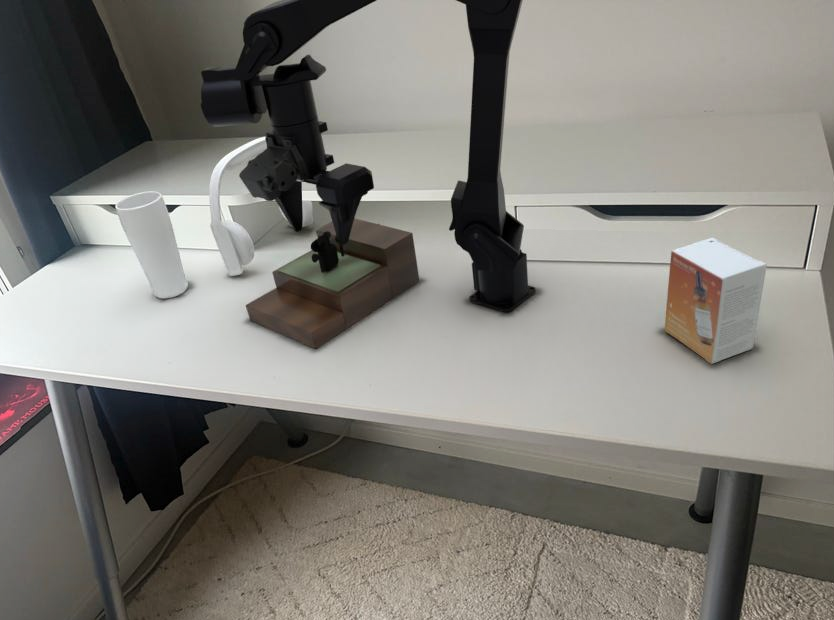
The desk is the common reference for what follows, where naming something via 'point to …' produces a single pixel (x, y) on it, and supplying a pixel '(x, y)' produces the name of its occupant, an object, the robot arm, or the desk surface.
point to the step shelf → (338, 284)
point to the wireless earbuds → (326, 252)
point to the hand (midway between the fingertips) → (320, 237)
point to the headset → (230, 234)
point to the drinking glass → (153, 242)
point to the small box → (714, 299)
